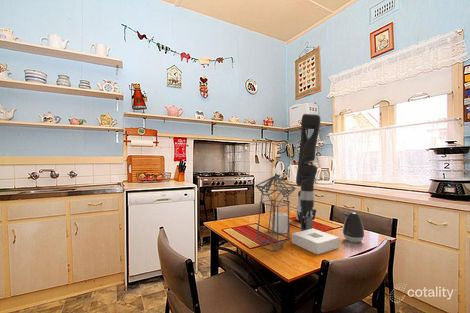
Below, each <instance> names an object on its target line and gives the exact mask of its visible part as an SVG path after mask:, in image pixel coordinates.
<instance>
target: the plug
mask: <svg viewBox="0 0 470 313" xmlns="http://www.w3.org/2000/svg"><path fill="white" fill-rule="evenodd" d="M303 217H305V216H303ZM303 220H304V218H303ZM313 221H314V220H313V217H310V216H307V218H306V222H305V223H306V227H305V229H302V227H301V226H300V231H304V230H309V229H313ZM301 224H302V223H301V222H300V225H301Z"/></svg>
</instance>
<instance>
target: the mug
mask: <svg viewBox="0 0 470 313" xmlns="http://www.w3.org/2000/svg"><path fill="white" fill-rule="evenodd" d="M269 219H270V216H269V218H268V220H267V221H268V222H267V223H268V224H269ZM271 220H273V214H271V219H270V227H271V228H272V223H271ZM273 226H274V225H273ZM287 227H288V212H279V211H278V234H281V235H282V234H283V235H285V234H287ZM274 233H277V212H275V227H274Z"/></svg>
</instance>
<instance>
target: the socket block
mask: <svg viewBox="0 0 470 313" xmlns="http://www.w3.org/2000/svg"><path fill="white" fill-rule="evenodd" d="M291 243H292V245H293V244H294V245H296V246H298V247H300V248H303V249H304V250H306V251H309V252H311V253H314V254H315V255H321V254H323V253H328V252H330V251H333V250H336V249H339V248H340V236H337V235H333V234H331V233H327V232H324V231H321V230H318V229H315V228H312V229H309V230H304V231H301V230H300V231H296V232H292V233H291Z"/></svg>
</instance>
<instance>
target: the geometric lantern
mask: <svg viewBox="0 0 470 313" xmlns="http://www.w3.org/2000/svg"><path fill="white" fill-rule="evenodd" d="M284 183H285V184H287V185H288V186H289V187H287V186H286V185H285V184H284ZM262 184H264V185H262ZM272 186H274V187H275V188H276V189H271V187H272ZM254 187H255V188H257V189H258V191H260V193H261V196H260V202H259V212H258V219H257V220H258V222H257V227H256V228H257V229H256V234H255V235H256V238H257V240H258V241H259V242H260V243H261V245H260V247H261V248H262V249H265V250H268V251H270V252H277V251H279V250H281V249H283V248H284V244H286V243H287V242H289V241H291V238H290V237H291V236H290V234H291V230H290V203H289V201H290V200H289V196H291V194H292V193H293V192H294V191H295V190H297V188H296V187H295V186H293V185H292V184H290V183H289V182H287V181H285V180H284V179H282V178H280V177H279V176H278V175H273V176H272V177H269V178H267V179H265V180H263V181H262V182H260V183H258V184H256V185H254ZM269 191H270V192H269ZM276 192H279V194H277V196H276V197H275V199H273V198H272V197H271V195H273V194H274V193H276ZM281 194H282V198H281V199H280V200H277V199H278V198H279V196H280V195H281ZM264 196H267V197H268V200H263V199H264ZM284 198H286V201H287V202H285V201H283V199H284ZM264 202H270V204H269V203H268V204H267V203H264ZM273 202H274V203H273ZM276 202H278V203H277V204H276ZM280 203H283V204H282V205H280ZM262 205H266V206H270V211H269V217H270V219H271V216H272V215H273V218H272V219H271V220H272V223H271V224H272V227H271V226H270V222H271V221H270V219H269V218H268V219H269V223H268V229H267V232H263V233H261V234H259V231H260V222H261V211H262ZM285 206H287V214H288V227H287V233H286V235H284V234H283V235H282V234H281V233H278V212H279V208H281V207H285ZM275 213H277V232H275V231H274V227H275ZM273 225H274V226H273ZM270 227H271V231H270ZM265 234H267V235H268V238H267V239H263V238H261V237H259V236H263V235H265ZM270 234H271V237H270ZM274 235H276V239H274ZM279 236H280V237H283V238H285V239H283V241H280V240H279ZM274 241H275V242H276V243H274ZM265 245H266V246H269V247H271V248H272V249H270V248H266V247H264V246H265ZM274 245H275V246H274ZM278 247H279V248H278ZM277 248H278V249H277Z"/></svg>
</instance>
